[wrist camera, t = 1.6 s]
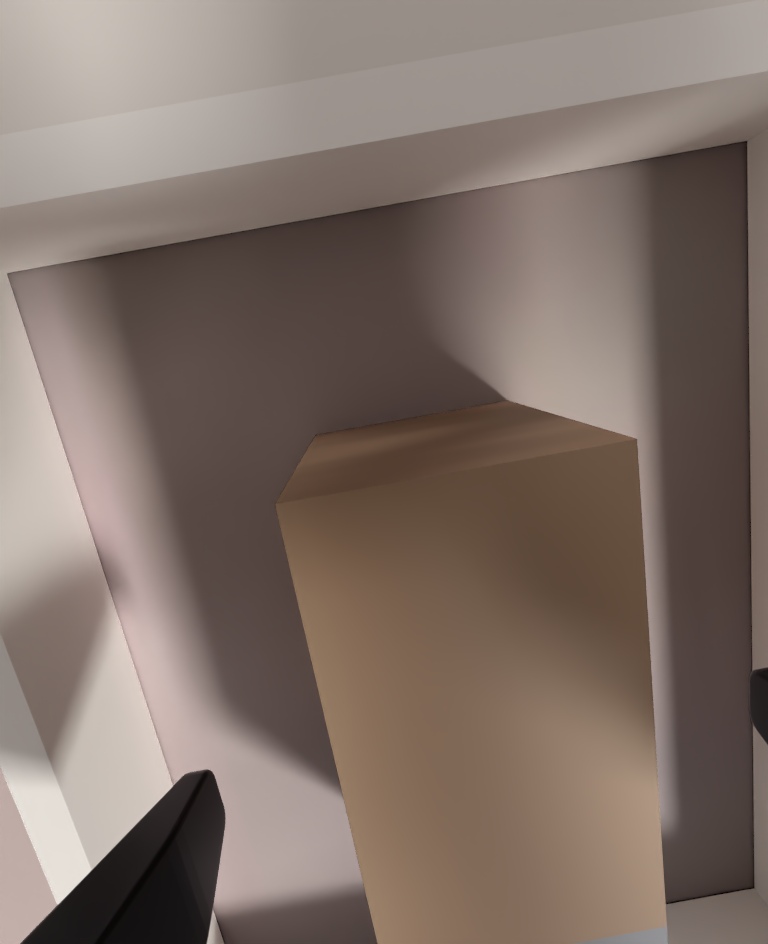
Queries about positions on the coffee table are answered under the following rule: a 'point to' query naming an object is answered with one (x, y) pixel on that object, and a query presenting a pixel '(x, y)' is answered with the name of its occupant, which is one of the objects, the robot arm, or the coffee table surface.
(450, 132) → the white rectangular frame
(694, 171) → the coffee table surface
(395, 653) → the box
